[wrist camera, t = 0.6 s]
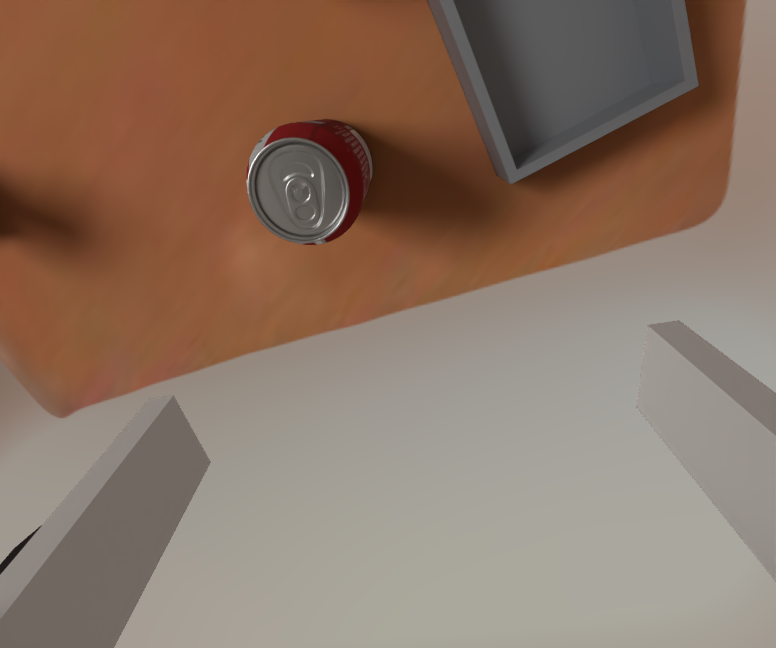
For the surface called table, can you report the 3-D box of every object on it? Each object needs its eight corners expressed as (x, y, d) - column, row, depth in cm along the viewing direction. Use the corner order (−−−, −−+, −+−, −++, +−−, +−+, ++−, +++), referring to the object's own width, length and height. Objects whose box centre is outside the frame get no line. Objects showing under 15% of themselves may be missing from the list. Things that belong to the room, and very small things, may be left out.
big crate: (408, -46, 26) (410, -74, 22) (601, -185, 23) (644, -247, 19) (496, 175, 32) (511, 184, 28) (657, 89, 29) (698, 85, 25)
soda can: (365, 112, 30) (348, 113, 20) (379, 203, 33) (370, 246, 23) (279, 126, 31) (217, 135, 20) (300, 214, 34) (256, 261, 23)
